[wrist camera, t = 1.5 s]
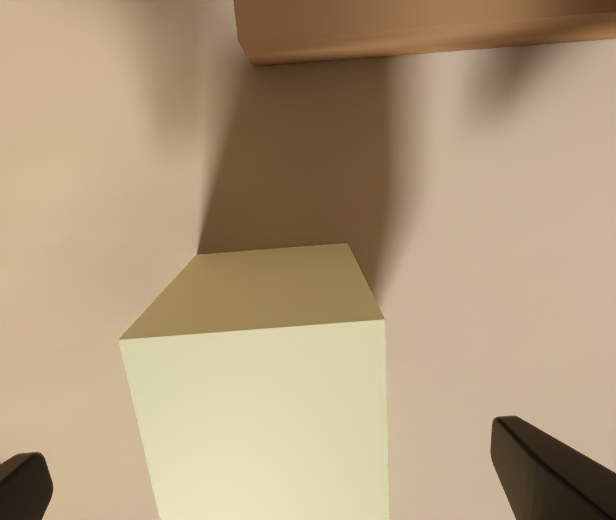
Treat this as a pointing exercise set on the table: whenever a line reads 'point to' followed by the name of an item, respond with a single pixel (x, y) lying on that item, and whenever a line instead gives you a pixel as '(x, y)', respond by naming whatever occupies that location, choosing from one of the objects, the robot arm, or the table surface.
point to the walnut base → (410, 26)
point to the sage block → (263, 388)
